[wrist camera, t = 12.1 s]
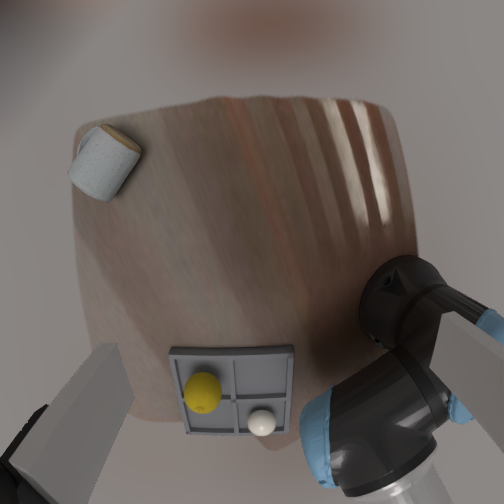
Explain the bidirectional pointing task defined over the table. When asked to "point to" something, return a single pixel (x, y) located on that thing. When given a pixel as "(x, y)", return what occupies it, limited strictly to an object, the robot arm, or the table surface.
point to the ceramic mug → (103, 162)
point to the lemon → (202, 392)
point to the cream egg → (261, 422)
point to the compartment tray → (236, 386)
